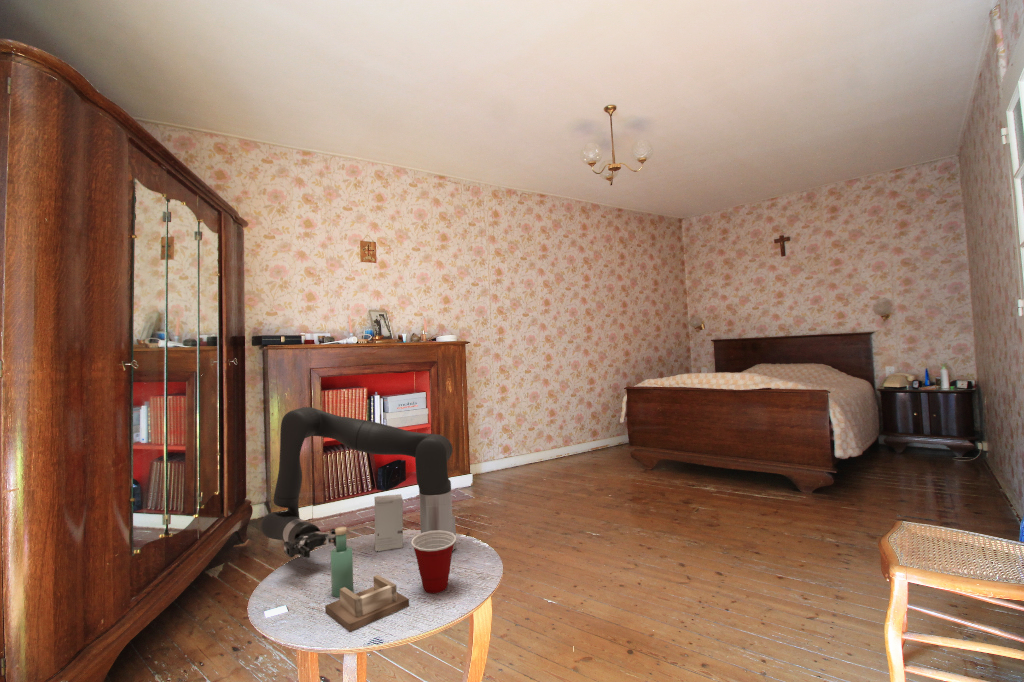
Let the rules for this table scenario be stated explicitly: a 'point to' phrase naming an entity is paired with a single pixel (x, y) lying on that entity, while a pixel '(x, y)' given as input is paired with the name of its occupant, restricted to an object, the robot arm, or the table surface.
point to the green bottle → (341, 563)
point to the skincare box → (388, 522)
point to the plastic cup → (434, 558)
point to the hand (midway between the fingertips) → (325, 548)
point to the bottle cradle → (366, 604)
